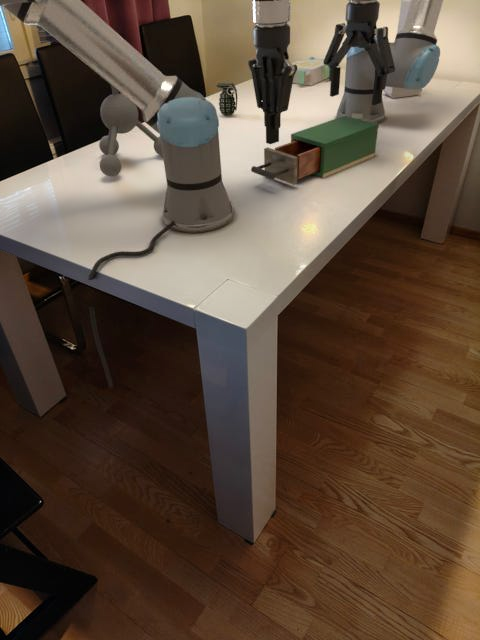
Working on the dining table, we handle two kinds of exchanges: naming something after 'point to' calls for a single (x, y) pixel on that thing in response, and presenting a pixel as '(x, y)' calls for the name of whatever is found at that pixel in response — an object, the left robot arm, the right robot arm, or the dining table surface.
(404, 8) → the electronic device
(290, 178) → the drawer
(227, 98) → the grenade
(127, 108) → the molecular model
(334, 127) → the cabinet
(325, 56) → the right robot arm
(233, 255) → the dining table surface
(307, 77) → the decorative block
